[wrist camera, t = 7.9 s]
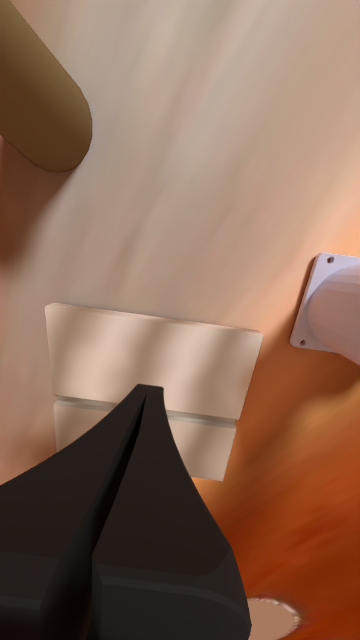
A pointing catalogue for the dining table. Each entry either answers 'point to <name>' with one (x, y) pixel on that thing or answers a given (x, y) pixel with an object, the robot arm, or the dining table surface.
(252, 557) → the dining table surface
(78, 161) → the cork
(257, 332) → the board
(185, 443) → the laid board
